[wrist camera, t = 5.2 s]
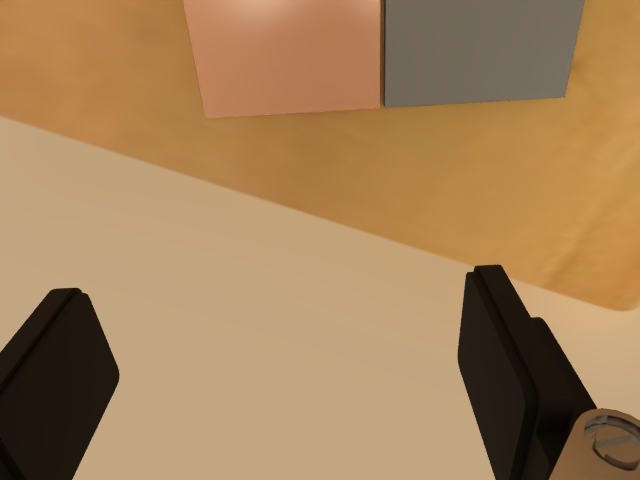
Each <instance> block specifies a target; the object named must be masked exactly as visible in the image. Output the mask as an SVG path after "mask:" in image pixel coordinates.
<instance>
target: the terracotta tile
mask: <svg viewBox="0 0 640 480" xmlns="http://www.w3.org/2000/svg"><path fill="white" fill-rule="evenodd" d="M183 3H184V8H185V13H186V19H187V24H188V29H189V34H190V40H191V45H192V50H193V55H194V61H195V66H196V71H197V76H198V82H199V87H200V92H201V97H202V103H203V108H204V113H205V118H206V119H207V118H224V117H241V116H258V115H275V114H291V113H308V112H325V111H342V110H359V109H376V108H380V0H183Z"/></svg>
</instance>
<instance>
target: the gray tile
mask: <svg viewBox="0 0 640 480" xmlns="http://www.w3.org/2000/svg"><path fill="white" fill-rule="evenodd" d="M584 1H585V0H384V106H385V108H392V107H409V106H426V105H443V104H460V103H476V102H493V101H510V100H527V99H544V98H561V97H565V94H566V89H567V84H568V79H569V74H570V70H571V65H572V60H573V55H574V50H575V45H576V40H577V35H578V30H579V25H580V20H581V15H582V11H583V6H584Z"/></svg>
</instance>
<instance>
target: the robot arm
mask: <svg viewBox="0 0 640 480" xmlns="http://www.w3.org/2000/svg"><path fill="white" fill-rule="evenodd" d="M458 364H459V368H460V372H461V375H462V378H463V381H464V384H465V387H466V390H467V393H468V396H469V399H470V402H471V405H472V408H473V412H474V414H475V418H476V421H477V424H478V427H479V430H480V433H481V436H482V439H483V442H484V445H485V448H486V451H487V454H488V457H489V460H490V464H491V467H492V470H493V473H494V476H495V479H496V480H640V420H638V419H636V418H634V417H633V416H631V415H629V414H625V413H623V412H620V411H617V410H611V409H603V408H601V409H597V407H596V405H595V404H594V402H593V400H592V399H591V397H590V395H589V394H588V392H587V390H586V389H585V387H584V386H583V384H582V382H581V380H580V379H579V377H578V375H577V374H576V372H575V370H574V369H573V367H572V365H571V364H570V362H569V360H568V359H567V357H566V355H565V354H564V352H563V351H562V349H561V347H560V345H559V344H558V342H557V340H556V339H555V337H554V335H553V334H552V332H551V330H550V329H549V327H548V325H547V324H546V322H545V321H544V320H543V319H542V318H540V317H534V318H531V317H530V315H529V313H528V311H527V310H526V308H525V306H524V305H523V303H522V301H521V299H520V298H519V296H518V294H517V292H516V290H515V289H514V287H513V285H512V283H511V282H510V280H509V278H508V276H507V274H506V273H505V271H504V269H503V267H502V266H501V265H482V266H475V268H474V271H473V272H468V273H467V274H466V281H465V290H464V300H463V308H462V318H461V327H460V337H459V346H458ZM118 382H119V370H118V366H117V364H116V362H115V359H114V357H113V354H112V352H111V349H110V347H109V344H108V342H107V339H106V337H105V335H104V332H103V330H102V327H101V325H100V322H99V320H98V318H97V315H96V312H95V310H94V308H93V305H92V302H91V300H90V298H89V296H88V295H87V294H86V293H82V291H81V290H80V289H79V288H62V289H53V290H51V291H50V292H49V293H48V294H47V295H46V297H45V298H44V299H43V301H42V302H41V303H40V304H39V305H38V307H37V308H36V309H35V310H34V312H33V313H32V314H31V315H30V317H29V318H28V319H27V320H26V321H25V323H24V324H23V325H22V327H21V328H20V329H19V330H18V331H17V333H16V334H15V335H14V336H13V338H12V339H11V340H10V341H9V342H8V344H7V345H6V346H5V347H4V349H3V350H2V351H1V352H0V480H72V479H73V477H74V475H75V472H76V470H77V468H78V466H79V464H80V462H81V460H82V458H83V456H84V454H85V452H86V449H87V447H88V445H89V443H90V441H91V439H92V437H93V435H94V433H95V431H96V429H97V426H98V424H99V422H100V420H101V418H102V416H103V414H104V412H105V409H106V408H107V405H108V403H109V401H110V399H111V397H112V395H113V393H114V391H115V389H116V387H117V384H118Z"/></svg>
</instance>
